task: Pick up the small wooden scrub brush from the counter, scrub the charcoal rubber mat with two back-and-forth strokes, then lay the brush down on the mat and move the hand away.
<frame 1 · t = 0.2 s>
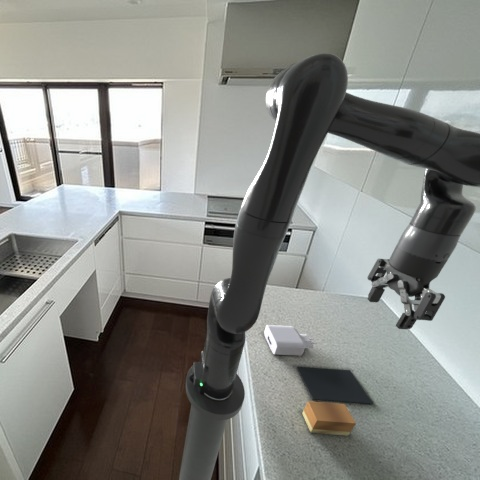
hand: (386, 313, 57), 30 cm above the worktop, tool pointing down, fingers open, 8 cm apart
mat: (332, 384, 73), on the worktop
brush: (324, 424, 63), on the worktop
charger: (290, 345, 85), on the worktop
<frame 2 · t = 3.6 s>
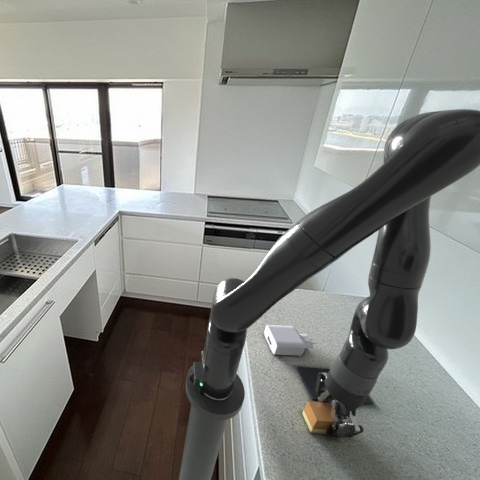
hand: (324, 423, 63), 0 cm above the worktop, tool pointing down, fingers closed on brush, 4 cm apart
brush: (324, 424, 63), on the worktop, touching gripper
everything else where it was.
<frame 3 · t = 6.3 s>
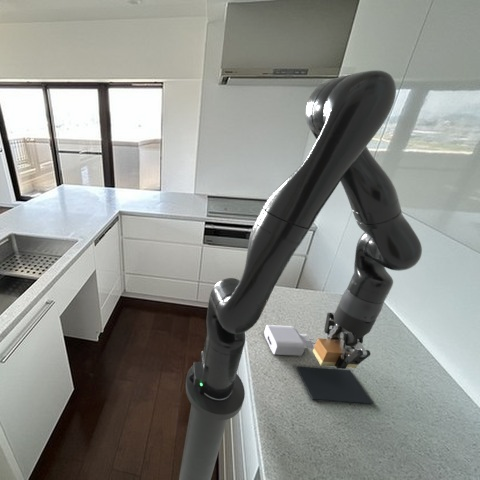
hand: (333, 358, 68), 11 cm above the worktop, tool pointing down, fingers closed on brush, 4 cm apart
brush: (333, 359, 68), point 11 cm above the worktop, touching gripper
everything else where it was.
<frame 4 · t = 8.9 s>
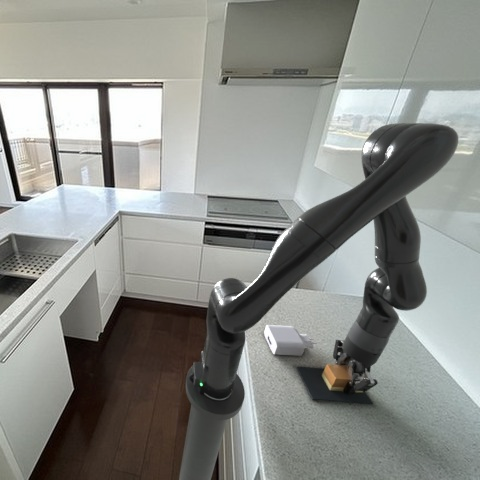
hand: (342, 383, 73), 1 cm above the worktop, tool pointing down, fingers closed on brush, 4 cm apart
brush: (341, 384, 73), point 1 cm above the worktop, touching gripper
everything else where it was.
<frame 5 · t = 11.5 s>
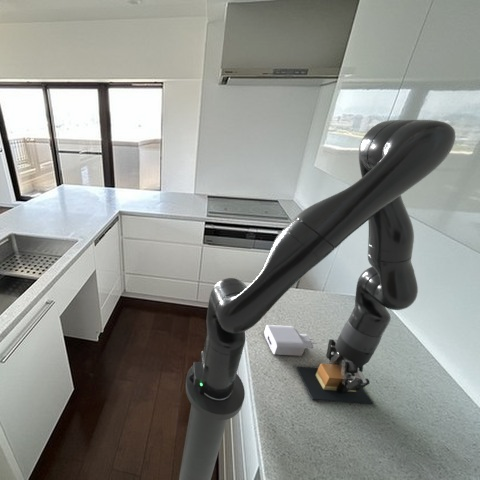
hand: (335, 383, 73), 1 cm above the worktop, tool pointing down, fingers closed on brush, 4 cm apart
brush: (335, 383, 73), point 1 cm above the worktop, touching gripper
everything else where it was.
when the fingers open (1 cm above the worktop, at t = 14.0 s): brush stays where it is, resting on mat.
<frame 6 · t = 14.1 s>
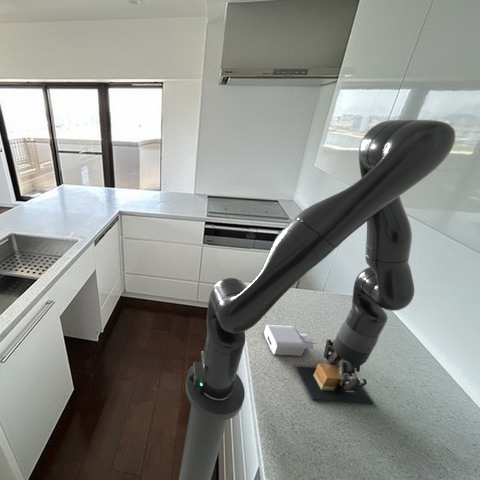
hand: (332, 383, 73), 1 cm above the worktop, tool pointing down, fingers open, 4 cm apart
brush: (332, 383, 73), resting on mat
everything else where it was.
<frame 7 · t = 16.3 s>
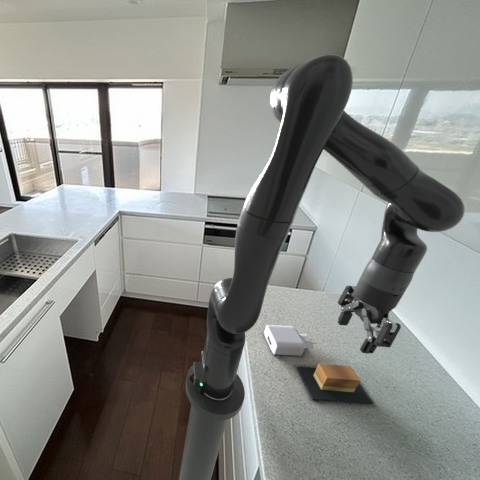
hand: (352, 337, 61), 21 cm above the worktop, tool pointing down, fingers open, 8 cm apart
nothing on the worktop moved.
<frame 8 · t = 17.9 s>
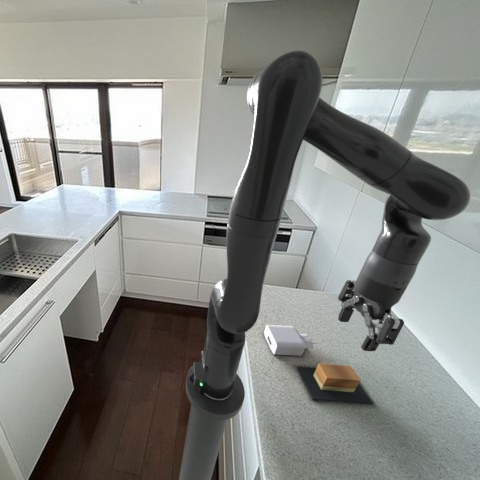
hand: (354, 334, 58), 24 cm above the worktop, tool pointing down, fingers open, 8 cm apart
nothing on the worktop moved.
at the end: brush inside the target area (0.1 cm from its centre), point 0.5 cm above the worktop; brush touching mat; brush moved 13.7 cm from its start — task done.
